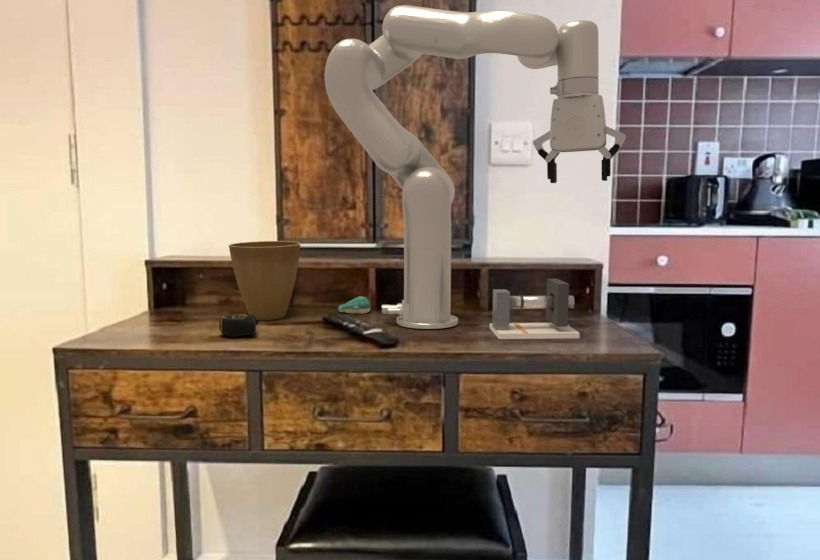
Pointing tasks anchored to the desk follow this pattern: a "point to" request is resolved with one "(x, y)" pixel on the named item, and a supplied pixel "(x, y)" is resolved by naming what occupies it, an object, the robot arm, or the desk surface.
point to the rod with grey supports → (517, 306)
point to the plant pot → (265, 275)
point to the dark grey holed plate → (558, 302)
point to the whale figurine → (356, 306)
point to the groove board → (535, 331)
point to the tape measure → (237, 325)
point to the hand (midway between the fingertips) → (578, 181)
